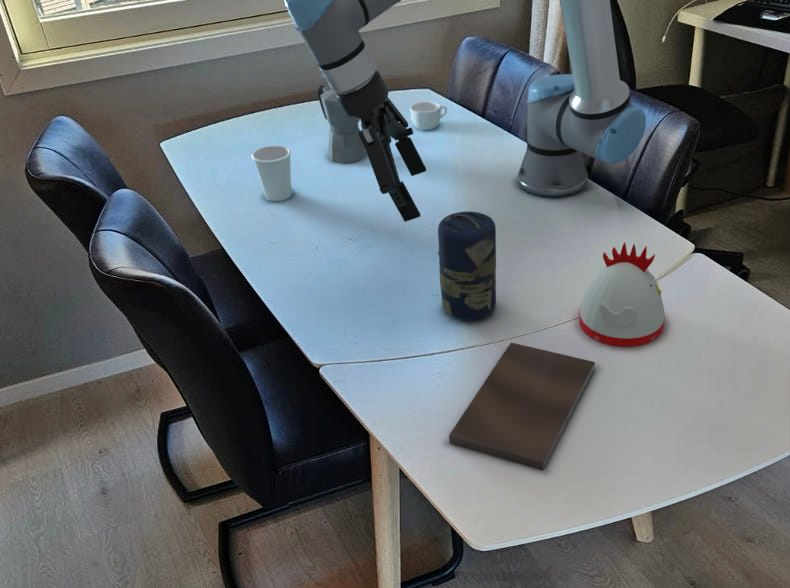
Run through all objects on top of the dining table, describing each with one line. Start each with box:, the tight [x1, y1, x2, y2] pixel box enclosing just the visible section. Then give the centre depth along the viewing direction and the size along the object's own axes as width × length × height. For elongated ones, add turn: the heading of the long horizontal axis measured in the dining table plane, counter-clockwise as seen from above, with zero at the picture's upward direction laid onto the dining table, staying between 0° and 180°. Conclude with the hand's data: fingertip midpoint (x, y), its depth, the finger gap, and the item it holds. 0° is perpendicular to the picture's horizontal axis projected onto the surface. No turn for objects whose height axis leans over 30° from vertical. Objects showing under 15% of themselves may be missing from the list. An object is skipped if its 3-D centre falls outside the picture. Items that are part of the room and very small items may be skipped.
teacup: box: [409, 100, 448, 131], centre depth 213 cm, size 10×8×5 cm
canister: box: [437, 211, 497, 321], centre depth 140 cm, size 10×10×18 cm
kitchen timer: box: [578, 241, 665, 348], centre depth 136 cm, size 14×14×15 cm
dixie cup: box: [251, 144, 292, 202], centre depth 182 cm, size 8×8×10 cm
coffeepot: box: [316, 84, 367, 164], centre depth 197 cm, size 15×9×18 cm, turn 44°
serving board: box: [448, 342, 596, 471], centre depth 124 cm, size 24×14×2 cm, turn 155°
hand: (416, 194), depth 138 cm, fingers open, 13 cm apart
